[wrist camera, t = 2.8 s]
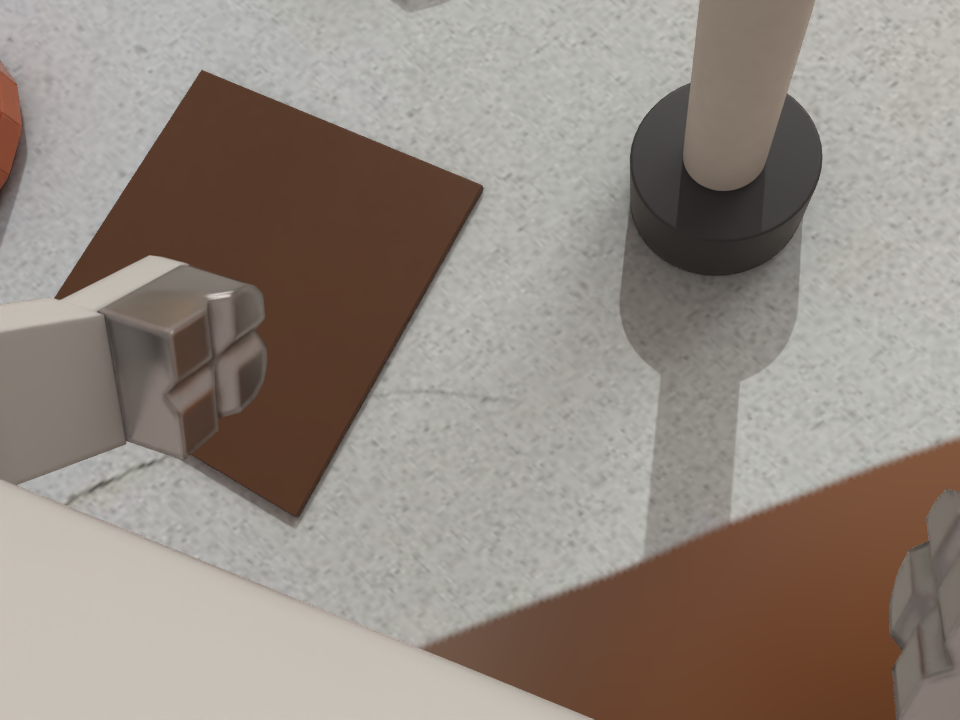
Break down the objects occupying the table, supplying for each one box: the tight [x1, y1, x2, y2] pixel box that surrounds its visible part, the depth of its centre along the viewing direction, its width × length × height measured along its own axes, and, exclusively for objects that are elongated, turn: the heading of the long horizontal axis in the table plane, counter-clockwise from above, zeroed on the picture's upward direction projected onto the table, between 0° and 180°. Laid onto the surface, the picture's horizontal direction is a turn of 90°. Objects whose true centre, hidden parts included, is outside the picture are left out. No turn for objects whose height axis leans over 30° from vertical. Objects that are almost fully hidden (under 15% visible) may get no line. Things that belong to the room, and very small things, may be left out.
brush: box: [630, 0, 822, 275], centre depth 22 cm, size 6×6×14 cm
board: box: [54, 70, 483, 517], centre depth 31 cm, size 14×14×1 cm
